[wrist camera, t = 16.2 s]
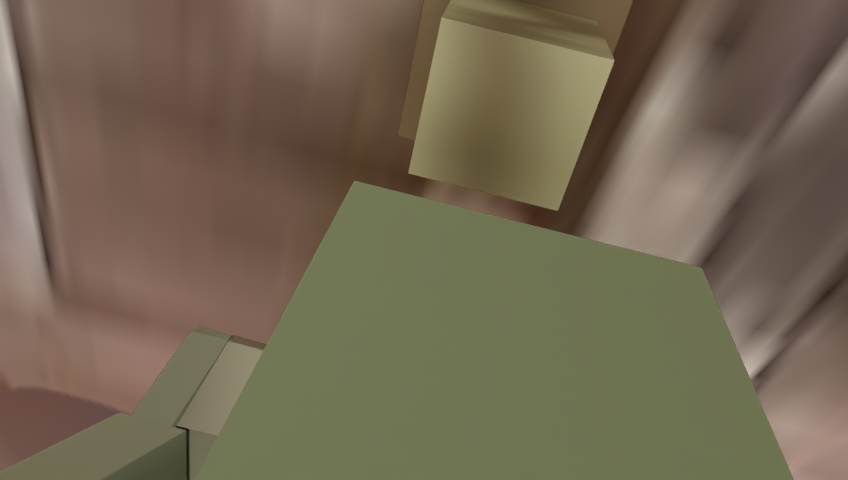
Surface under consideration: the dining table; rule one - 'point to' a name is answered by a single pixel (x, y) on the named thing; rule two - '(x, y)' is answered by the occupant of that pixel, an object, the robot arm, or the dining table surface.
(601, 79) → the birch cube
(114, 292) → the dining table surface
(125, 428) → the robot arm
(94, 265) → the dining table surface
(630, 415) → the green cube
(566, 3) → the brown square block
